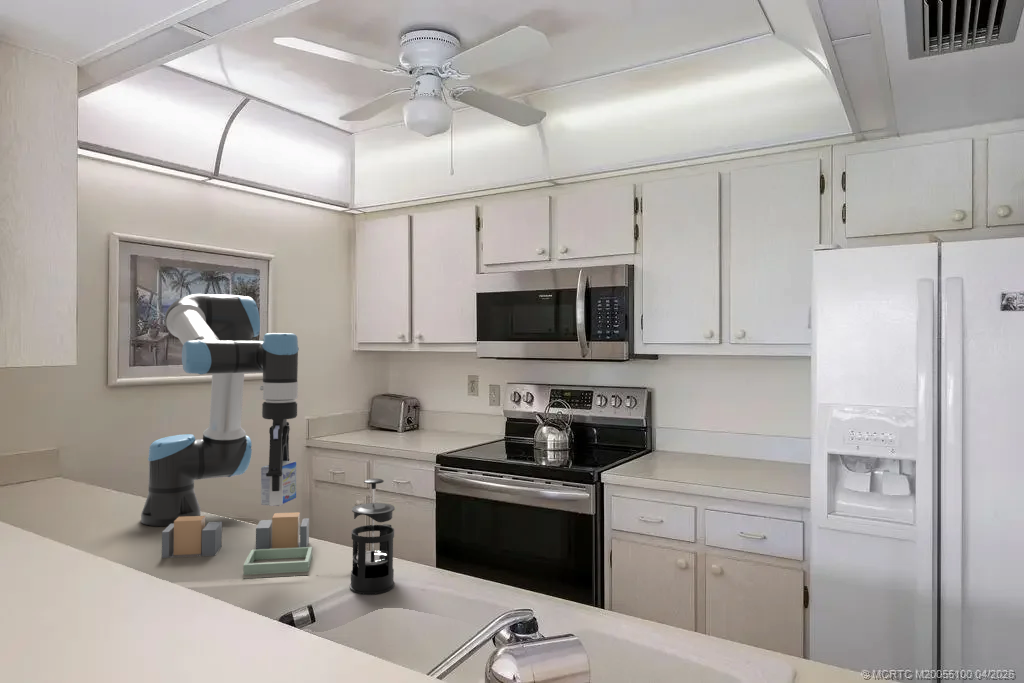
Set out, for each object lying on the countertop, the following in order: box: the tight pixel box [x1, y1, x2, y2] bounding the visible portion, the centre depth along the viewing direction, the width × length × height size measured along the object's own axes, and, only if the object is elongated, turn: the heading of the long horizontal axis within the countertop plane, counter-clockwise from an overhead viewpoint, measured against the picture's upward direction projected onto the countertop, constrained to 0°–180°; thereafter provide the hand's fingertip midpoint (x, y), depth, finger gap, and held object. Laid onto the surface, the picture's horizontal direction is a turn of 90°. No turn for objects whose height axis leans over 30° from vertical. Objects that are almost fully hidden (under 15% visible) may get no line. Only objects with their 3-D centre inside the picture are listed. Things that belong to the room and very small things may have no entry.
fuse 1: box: [174, 515, 206, 555], centre depth 162 cm, size 4×6×8 cm, turn 102°
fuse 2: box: [271, 511, 301, 549], centre depth 167 cm, size 4×6×8 cm, turn 102°
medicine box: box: [260, 460, 297, 507], centre depth 154 cm, size 8×4×9 cm, turn 168°
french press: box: [349, 477, 396, 596], centre depth 146 cm, size 12×9×23 cm
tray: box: [242, 546, 313, 580], centre depth 155 cm, size 11×14×3 cm
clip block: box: [161, 517, 310, 559], centre depth 165 cm, size 7×32×7 cm, turn 102°
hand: (278, 499), depth 154 cm, fingers closed on medicine box, 9 cm apart
